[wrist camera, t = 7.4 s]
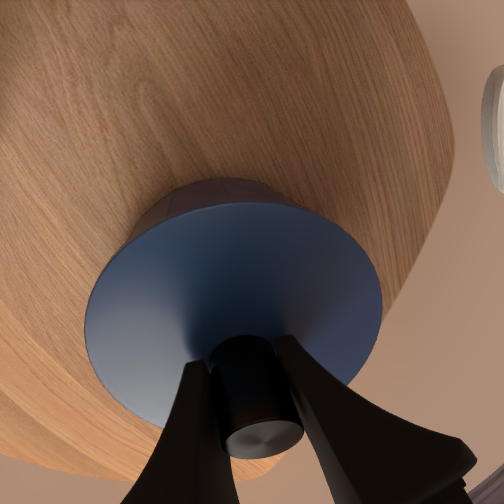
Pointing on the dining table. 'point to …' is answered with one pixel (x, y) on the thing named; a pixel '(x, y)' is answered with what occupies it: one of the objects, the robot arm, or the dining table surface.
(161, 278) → the tin lid
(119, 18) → the dining table surface
